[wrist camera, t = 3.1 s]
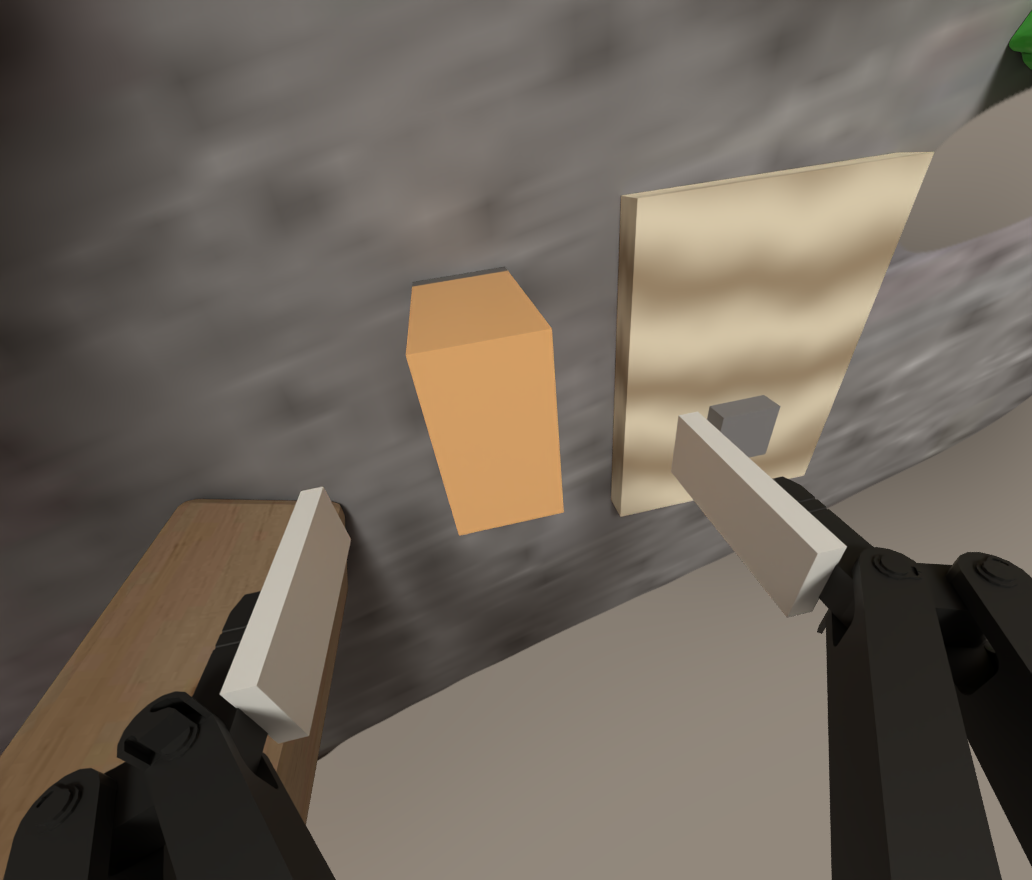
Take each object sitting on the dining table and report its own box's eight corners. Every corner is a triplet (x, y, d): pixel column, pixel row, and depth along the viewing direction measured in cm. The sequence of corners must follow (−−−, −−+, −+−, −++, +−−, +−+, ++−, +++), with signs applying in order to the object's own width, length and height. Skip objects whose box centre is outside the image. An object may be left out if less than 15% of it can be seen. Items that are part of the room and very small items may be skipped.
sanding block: (412, 281, 21) (406, 355, 13) (504, 266, 22) (551, 328, 14) (448, 422, 27) (459, 535, 19) (521, 407, 27) (563, 512, 19)
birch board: (621, 195, 21) (637, 198, 19) (897, 152, 22) (934, 151, 21) (610, 499, 34) (620, 516, 32) (786, 460, 35) (804, 475, 33)
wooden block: (346, 495, 28) (245, 934, 12) (350, 585, 34) (282, 975, 18) (179, 492, 26) (-228, 1043, 10) (211, 590, 31) (-18, 1052, 15)
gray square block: (709, 406, 27) (723, 418, 26) (763, 394, 28) (780, 406, 26) (700, 452, 30) (713, 465, 28) (750, 441, 30) (765, 454, 29)
